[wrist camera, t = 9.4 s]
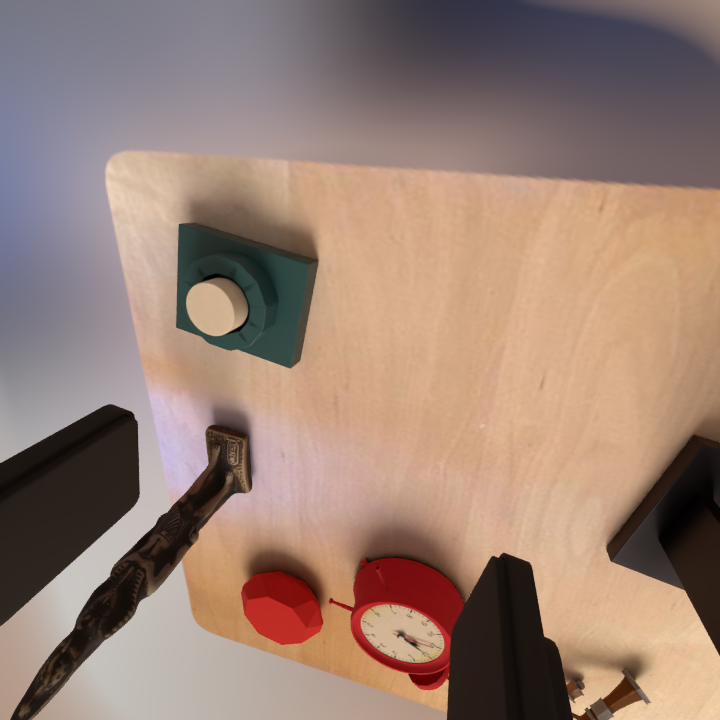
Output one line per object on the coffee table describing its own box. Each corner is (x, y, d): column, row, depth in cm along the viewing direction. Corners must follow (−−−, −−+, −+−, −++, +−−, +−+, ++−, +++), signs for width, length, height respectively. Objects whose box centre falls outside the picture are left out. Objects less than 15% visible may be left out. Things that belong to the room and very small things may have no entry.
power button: (203, 270, 26) (186, 275, 24) (251, 286, 25) (236, 292, 24) (201, 319, 28) (184, 326, 26) (245, 335, 27) (231, 343, 25)
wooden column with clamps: (532, 691, 36) (561, 747, 31) (604, 642, 35) (643, 691, 31) (542, 704, 36) (572, 761, 31) (613, 655, 36) (653, 705, 31)
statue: (253, 428, 34) (12, 675, 16) (257, 490, 37) (55, 758, 19) (212, 419, 35) (-58, 643, 17) (220, 481, 38) (-7, 727, 20)
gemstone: (260, 615, 45) (246, 642, 42) (242, 558, 42) (226, 582, 39) (332, 630, 42) (322, 660, 39) (319, 570, 39) (307, 597, 36)
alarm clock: (382, 563, 31) (522, 725, 28) (407, 518, 36) (527, 650, 34) (313, 611, 36) (428, 753, 33) (345, 565, 41) (445, 684, 39)
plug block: (194, 222, 28) (159, 225, 25) (318, 260, 27) (298, 268, 24) (190, 321, 32) (158, 334, 29) (300, 360, 30) (280, 379, 27)
